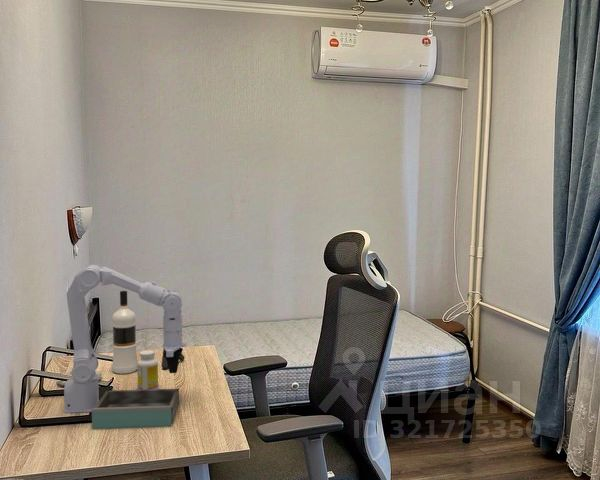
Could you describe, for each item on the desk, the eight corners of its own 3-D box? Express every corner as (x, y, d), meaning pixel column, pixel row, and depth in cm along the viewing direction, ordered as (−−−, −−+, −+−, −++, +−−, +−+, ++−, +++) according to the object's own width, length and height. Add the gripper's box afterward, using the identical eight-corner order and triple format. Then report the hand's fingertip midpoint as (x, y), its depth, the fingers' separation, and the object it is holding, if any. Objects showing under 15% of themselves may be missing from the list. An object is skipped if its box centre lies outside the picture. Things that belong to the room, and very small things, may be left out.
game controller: (103, 368, 192) (98, 371, 182) (103, 380, 192) (98, 384, 182) (60, 370, 189) (53, 374, 179) (60, 383, 189) (53, 387, 179)
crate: (92, 427, 150) (92, 410, 150) (106, 406, 165) (106, 390, 165) (172, 424, 153) (172, 407, 152) (179, 404, 167) (178, 388, 167)
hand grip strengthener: (185, 360, 210) (185, 323, 209) (166, 370, 199) (165, 331, 197) (180, 360, 211) (180, 322, 210) (161, 369, 200) (160, 330, 198)
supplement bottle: (161, 386, 183) (160, 349, 181) (154, 393, 176) (153, 355, 175) (142, 385, 183) (141, 348, 182) (134, 392, 177) (133, 354, 176)
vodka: (127, 376, 192) (125, 294, 190) (106, 372, 196) (104, 292, 193) (143, 368, 201) (141, 289, 198) (123, 365, 204) (121, 287, 202)
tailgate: (92, 428, 149) (91, 409, 149) (93, 427, 150) (92, 407, 150) (170, 426, 151) (170, 407, 151) (171, 424, 152) (171, 405, 152)
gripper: (182, 336, 161) (183, 380, 162) (188, 324, 175) (188, 364, 176) (158, 336, 160) (159, 380, 161) (166, 324, 175) (167, 365, 176)
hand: (173, 372), depth 169 cm, fingers closed
